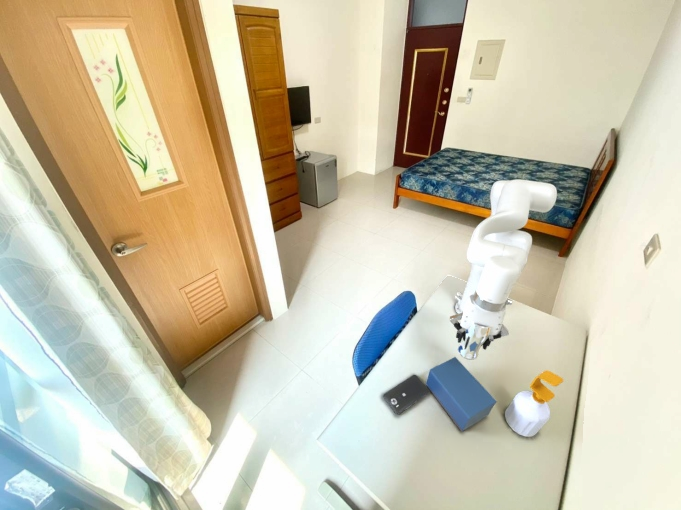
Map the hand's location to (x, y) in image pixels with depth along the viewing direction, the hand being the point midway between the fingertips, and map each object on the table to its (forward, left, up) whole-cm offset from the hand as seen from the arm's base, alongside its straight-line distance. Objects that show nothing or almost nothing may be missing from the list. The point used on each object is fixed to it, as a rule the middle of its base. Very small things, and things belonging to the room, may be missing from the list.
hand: (471, 342), depth 84 cm
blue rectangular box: (+4, -4, -24) cm, 25 cm away
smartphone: (-5, -17, -24) cm, 30 cm away
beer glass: (0, 0, -5) cm, 5 cm away
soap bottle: (+18, +10, -24) cm, 32 cm away
